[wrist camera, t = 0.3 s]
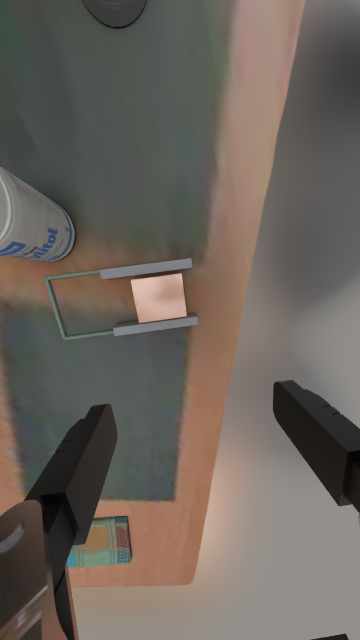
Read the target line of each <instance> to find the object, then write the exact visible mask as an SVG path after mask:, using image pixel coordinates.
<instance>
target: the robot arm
mask: <svg viewBox="0 0 360 640" xmlns="http://www.w3.org/2000/svg"><path fill="white" fill-rule="evenodd" d="M83 2H84V4H85V6H86V7H87V8H88V10H89V11H90V12H91V14H92V15H93V16H95V17H96V18H97V19H98V20H99V21H101V22H102V23H104V24H106V25H109V26H112V27H122V26H126V25H128V24H130V23H131V22H133V21H134V20H135V19H136V18H137V17H138V16H139V14H140V13H141V11H142V10H143V8H144V5H145V2H146V0H83ZM273 412H274V415H275V418H276V420H277V422H278V423H279V425H280V426H281V427H282V429H283V430H284V431H285V433H286V434H287V436H288V437H289V438H290V440H291V441H292V443H293V444H294V445H295V446H296V448H297V449H298V450H299V452H300V453H301V455H302V456H303V458H304V459H305V460H306V462H307V463H308V465H309V466H310V467H311V469H312V470H313V471H314V473H315V474H316V476H317V477H318V478H319V480H320V481H321V482H322V483H323V485H324V487H325V488H326V489H327V491H328V492H329V493H330V495H331V496H332V498H333V499H334V500H335V501H336V503H337V504H338V506H344V505H351V504H353V506H354V507H355V508H356V509H357V511H358V512H359V517H358V519H359V525H360V429H359V428H358V427H357V426H356V425H355V424H353V423H352V422H351V421H350V420H348V419H347V418H346V417H345V416H343V415H341V414H340V412H339V411H337V410H336V409H335V408H333V407H331V405H330V404H329V403H328V402H326V401H325V400H324V399H323V398H321V397H320V396H319V395H317V394H314V393H313V392H311V391H309V390H307V389H305V390H304V389H302V388H301V387H300V386H299V385H298V384H297V383H295V382H294V381H293V380H286V381H278V382H275V383H274V390H273ZM116 443H117V428H116V424H115V420H114V416H113V411H112V408H111V405H110V404H102V405H95V406H92V407H91V408H90V410H89V412H88V413H87V415H86V417H85V418H84V419H80V420H79V421H78V422H77V423H76V424H75V425H74V426H73V427H71V428H70V429H69V431H68V432H67V434H66V436H65V437H64V439H63V440H62V443H61V444H60V445H59V447H58V448H57V450H56V451H55V454H53V456H52V457H51V459H50V461H49V462H48V464H47V465H46V467H45V468H44V470H43V472H42V473H41V475H40V476H39V478H38V479H37V481H36V483H35V484H34V486H33V487H32V489H31V490H30V492H29V494H28V495H27V497H26V498H25V500H24V501H23V502H20V503H18V504H16V505H15V506H13V507H11V508H10V509H9V510H7V511H6V512H5V513H3V514H2V515H1V516H0V640H79V638H78V631H77V625H76V619H75V612H74V605H73V599H72V592H71V586H70V579H69V573H68V567H67V560H68V557H69V554H70V551H71V548H72V546H75V545H82V544H85V543H86V540H87V537H88V534H89V530H90V527H91V524H92V521H93V518H94V514H95V511H96V508H97V505H98V501H99V498H100V495H101V492H102V488H103V485H104V482H105V479H106V476H107V472H108V469H109V466H110V463H111V459H112V456H113V453H114V450H115V446H116ZM312 640H348V638H347V635H346V634H341V635H335V636H329V637H324V638H318V639H312Z"/></svg>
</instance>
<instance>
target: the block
mask: <svg viewBox="0 0 360 640" xmlns="http://www.w3.org/2000/svg"><path fill="white" fill-rule="evenodd" d="M131 284H132V289H133V295H134V300H135V305H136V310H137V315H138V320H139V323H144V322H151V321H158V320H165V319H172V318H179V317H186V316H187V313H186V305H185V297H184V289H183V281H182V273H180V274H172V275H165V276H157V277H150V278H143V279H135V280H131Z"/></svg>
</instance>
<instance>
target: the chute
mask: <svg viewBox="0 0 360 640" xmlns="http://www.w3.org/2000/svg"><path fill="white" fill-rule="evenodd" d="M188 268H192V260H191V258H188V259H181V260H173V261H165V262H157V263H150V264H142V265H134V266H126V267H119V268H111V269H103V270H100V274H101V279H111V278H119V277H126V276H134V275H142V274H149V273H157V272H165V271H172V270H180V269H188ZM192 325H198V317H197V315H196V314H195V313H191V314H187V316H186V317H179V318H172V319H165V320H158V321H151V322H144V323H139V321H133V322H125V323H118V324H117V325H116V326H115V327H114V328H113V330H114V335H115V336H119V335H126V334H134V333H141V332H148V331H155V330H163V329H170V328H177V327H184V326H192Z"/></svg>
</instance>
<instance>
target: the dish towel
mask: <svg viewBox="0 0 360 640" xmlns="http://www.w3.org/2000/svg"><path fill="white" fill-rule="evenodd" d="M131 559H132V550H131V543H130V532H129V524H128V516H118V517H105V518H94V519H93V521H92V524H91V527H90V530H89V534H88V537H87V540H86V543H85V544H82V545H75V546H72V548H71V551H70V554H69V557H68V560H67V567H90V566H96V565H112V564H127V563H130V562H131Z"/></svg>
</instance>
